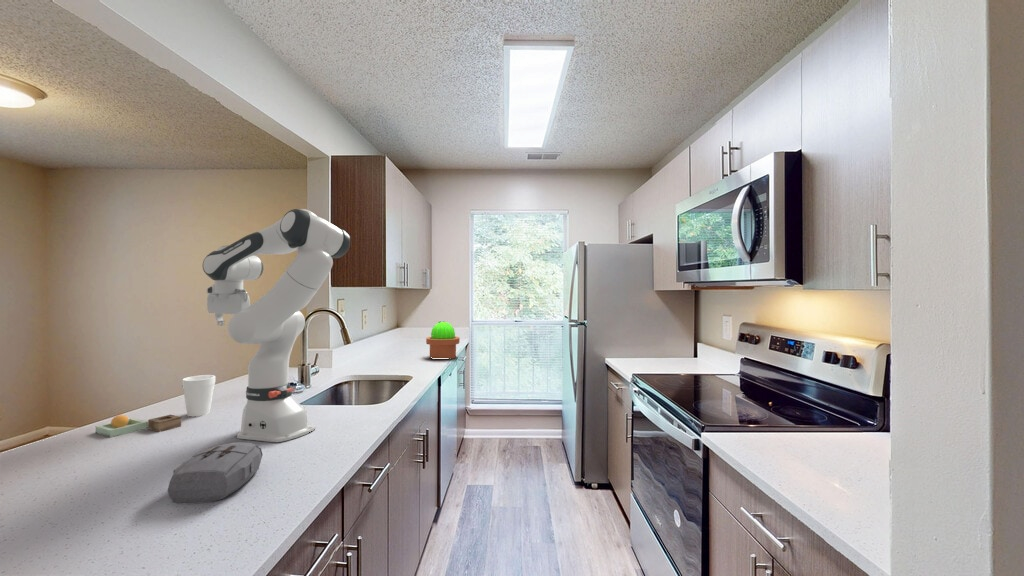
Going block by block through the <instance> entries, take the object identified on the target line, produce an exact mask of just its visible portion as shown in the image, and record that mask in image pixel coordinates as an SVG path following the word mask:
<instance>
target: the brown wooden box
mask: <svg viewBox="0 0 1024 576" xmlns="http://www.w3.org/2000/svg"><path fill="white" fill-rule="evenodd" d="M147 422H148V428H147V429H148V430H149V429H150V430H149V431H153V430H154V432H157V433H160V431H161V432H164V431H168V430H171V429H175V427H176V428H179V427H182V416H178V415H174V414H166V415H163V416H159V417H154V418H150V419H148V421H147Z"/></svg>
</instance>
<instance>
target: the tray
mask: <svg viewBox="0 0 1024 576" xmlns="http://www.w3.org/2000/svg"><path fill="white" fill-rule="evenodd" d="M128 419H129V422H128V424H127V425H126V426H124V427H120V428H114V427H113V426H112V425H111V422H109V423H104V424H100V425H96V426H95V433H96V432H97V433H96V434H98V433H99V434H98V435H101V434H103V435H102V436H104V437H105V436H106V437H108V436H109V437H108V438H113V436H114V437H117V435H118V436H121V435H125V434H129V433H133V432H137V430H138V431H141V430H144V429H145V430H146V429H148V421H147V420H141V419H139V418H134V417H131V418H130V417H129V418H128Z"/></svg>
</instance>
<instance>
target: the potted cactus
mask: <svg viewBox="0 0 1024 576" xmlns="http://www.w3.org/2000/svg"><path fill="white" fill-rule="evenodd" d="M425 343H426V345H429V358H430V357H432V358H452V359H451V360H453V359H456V357H457V345H458V344H460V337H459V336H456V332H455V328H454V327H453V325H452V324H451V323H449V322H448V321H447V322H446V321H438V323H436V324H434V325H433V327H432V329H431V333H430V336H428V337H426V340H425Z"/></svg>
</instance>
